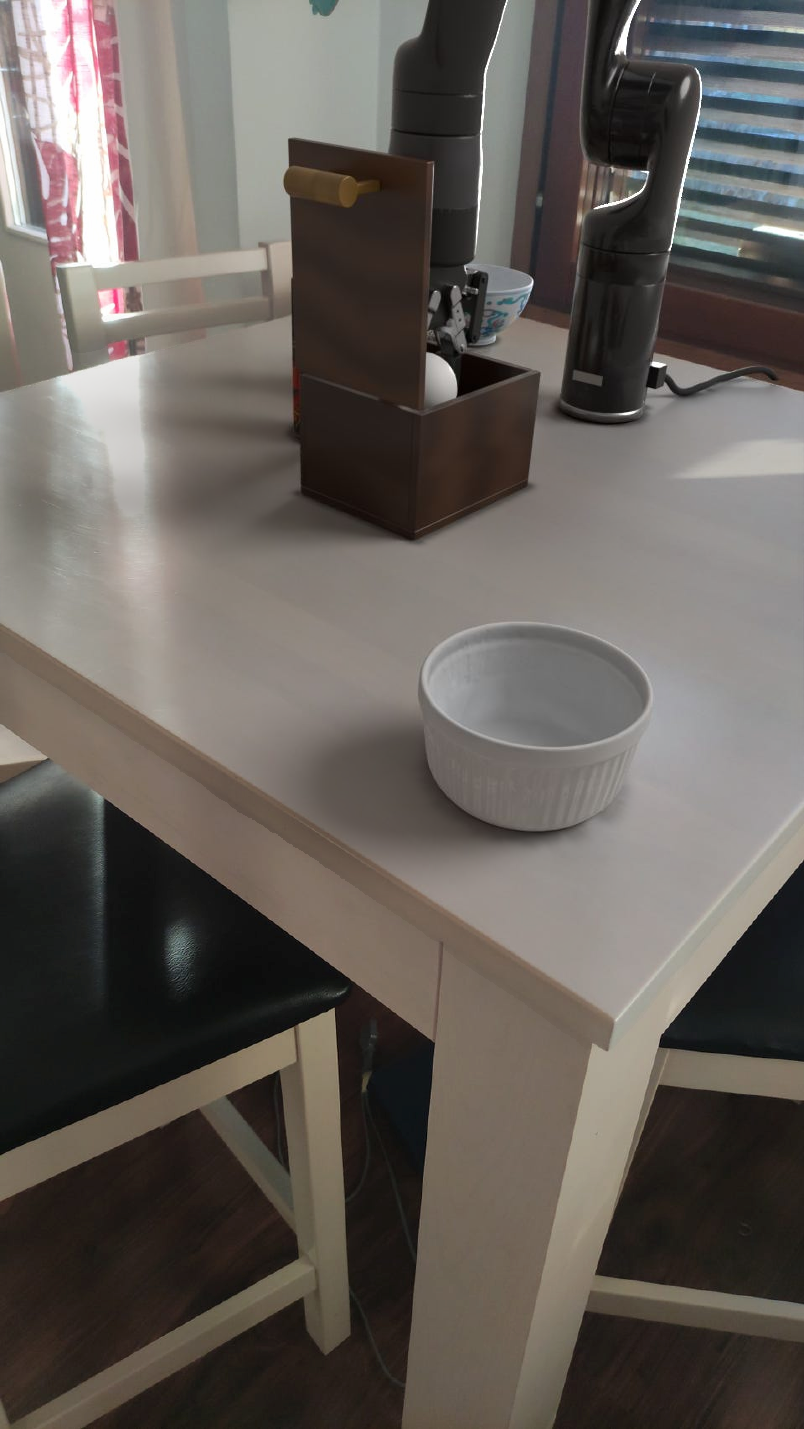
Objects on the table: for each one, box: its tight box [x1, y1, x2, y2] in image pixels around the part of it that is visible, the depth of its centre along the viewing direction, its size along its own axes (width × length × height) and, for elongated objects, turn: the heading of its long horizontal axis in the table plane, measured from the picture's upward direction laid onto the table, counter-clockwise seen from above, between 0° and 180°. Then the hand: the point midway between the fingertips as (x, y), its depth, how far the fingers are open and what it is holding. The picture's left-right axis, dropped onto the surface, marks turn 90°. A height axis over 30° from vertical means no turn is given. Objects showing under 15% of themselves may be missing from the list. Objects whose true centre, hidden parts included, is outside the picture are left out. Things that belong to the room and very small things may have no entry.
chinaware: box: [465, 262, 534, 347], centre depth 137 cm, size 15×15×8 cm
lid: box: [282, 137, 434, 411], centre depth 79 cm, size 17×14×5 cm
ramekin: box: [417, 620, 654, 832], centre depth 61 cm, size 13×13×7 cm
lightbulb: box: [419, 352, 457, 411], centre depth 94 cm, size 6×6×11 cm
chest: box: [299, 338, 542, 541], centre depth 95 cm, size 17×14×11 cm
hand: (421, 403), depth 93 cm, fingers closed on lightbulb, 6 cm apart
